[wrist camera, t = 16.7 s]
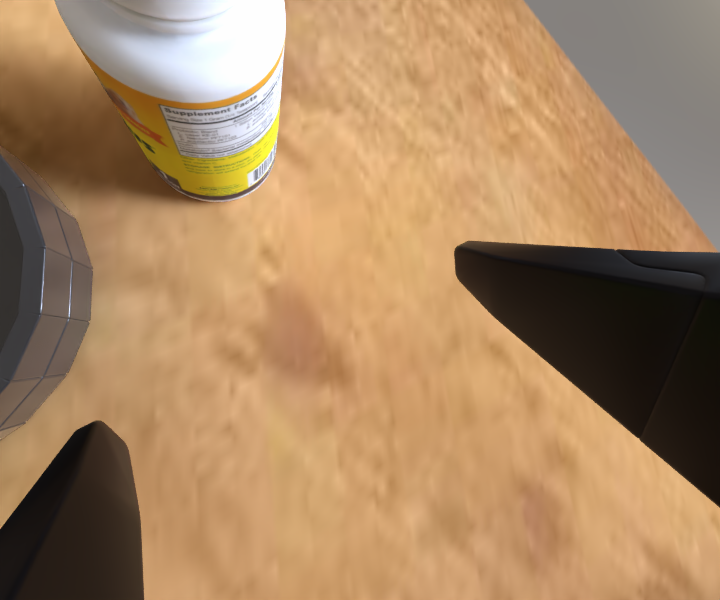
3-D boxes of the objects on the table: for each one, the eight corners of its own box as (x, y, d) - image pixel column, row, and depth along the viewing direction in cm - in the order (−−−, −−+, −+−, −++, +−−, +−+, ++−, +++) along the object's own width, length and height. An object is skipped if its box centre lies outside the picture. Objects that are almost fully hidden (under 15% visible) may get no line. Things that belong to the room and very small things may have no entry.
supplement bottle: (136, 96, 16) (-55, -289, 6) (262, 92, 18) (264, -222, 8) (159, 215, 16) (-6, 0, 6) (286, 200, 17) (319, 10, 8)
